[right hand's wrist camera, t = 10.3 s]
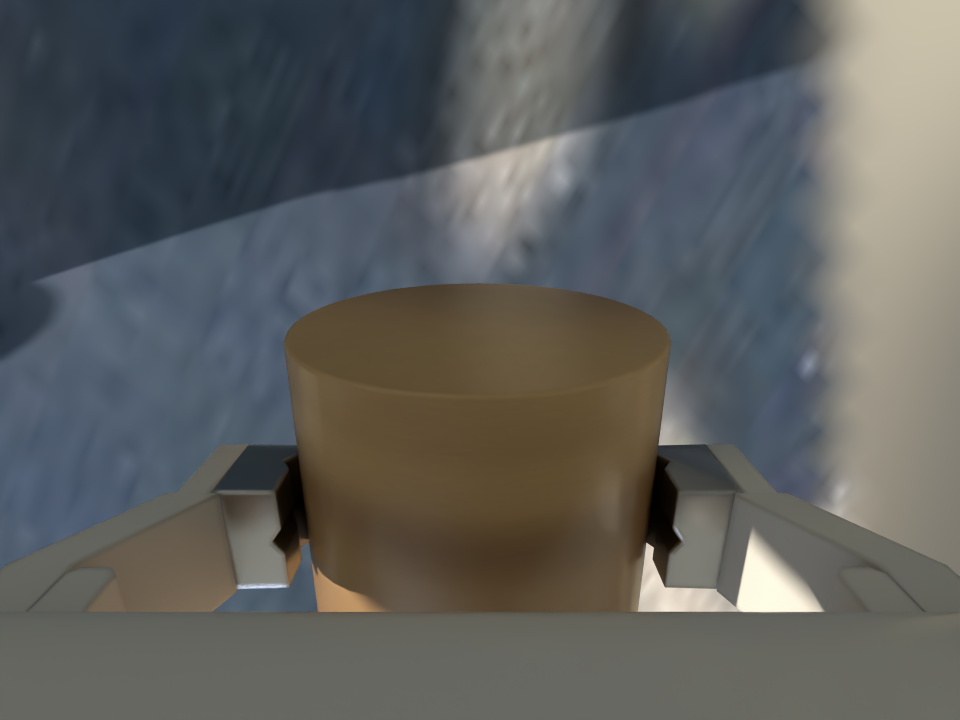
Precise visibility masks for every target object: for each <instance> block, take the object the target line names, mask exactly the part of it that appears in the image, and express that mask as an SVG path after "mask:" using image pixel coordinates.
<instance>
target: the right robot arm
mask: <svg viewBox="0 0 960 720" xmlns="http://www.w3.org/2000/svg"><path fill="white" fill-rule="evenodd" d="M308 542H309V536H308V529H307V521H306V513H305V505H304V497H303V490H302V482H301V474H300V466H299V459H298V451H297V445H251V444H229V445H220V446H219V447H218V448H217V449H216V450H215V451H214V452H213V453H212V454H211V456H210V457H209V458H208V459H207V460H206V461H205V462H204V463H203V464H202V465H201V467H200V468H199V469H198V470H197V471H196V472H195V473H194V474H193V475H192V476H191V478H190V479H189V480H188V481H187V482H186V483H185V484H184V485H183V486H182V487H181V489H180V490H179V491H178V492H177V493H166V494H164V495H162V496H159V497H157V498H155V499H153V500H150V501H148V502H146V503H144V504H142V505H139V506H137V507H135V508H133V509H130V510H128V511H126V512H124V513H121V514H119V515H117V516H115V517H112V518H110V519H108V520H106V521H103V522H101V523H99V524H97V525H94V526H92V527H90V528H88V529H85V530H83V531H81V532H79V533H76V534H74V535H72V536H70V537H67V538H65V539H63V540H61V541H58V542H56V543H54V544H52V545H49V546H47V547H45V548H43V549H40V550H38V551H36V552H34V553H31V554H29V555H27V556H25V557H22V558H20V559H18V560H16V561H14V562H11V563H9V564H7V565H5V566H4V567H3V568H2V569H1V570H0V720H960V576H958V575H957V574H956V573H955V572H954V571H953V570H952V569H950V568H949V567H948V566H947V565H945V564H943V563H940V562H938V561H936V560H934V559H931V558H929V557H927V556H925V555H923V554H920V553H918V552H916V551H914V550H912V549H909V548H907V547H905V546H903V545H900V544H898V543H896V542H894V541H892V540H889V539H887V538H885V537H883V536H880V535H878V534H876V533H874V532H872V531H869V530H867V529H865V528H863V527H861V526H858V525H856V524H854V523H852V522H849V521H847V520H845V519H843V518H841V517H838V516H836V515H834V514H832V513H830V512H827V511H825V510H823V509H821V508H818V507H816V506H814V505H812V504H810V503H807V502H805V501H803V500H801V499H798V498H796V497H794V496H792V495H790V494H787V493H777V492H776V491H775V490H774V489H773V488H772V487H771V486H770V484H769V483H768V482H767V481H766V480H765V479H764V478H763V476H762V475H761V474H760V473H759V472H758V471H757V470H756V469H755V467H754V466H753V465H752V464H751V463H750V462H749V461H748V460H747V458H746V457H745V456H744V455H743V454H742V453H741V452H740V451H739V449H738V448H737V447H736V446H734V445H731V444H714V445H705V444H703V445H662V446H658V452H657V460H656V468H655V476H654V484H653V492H652V500H651V508H650V516H649V524H648V532H647V541H646V542H647V543H648V544H650V545H651V546H652V547H654V552H653V561H654V563H655V566H656V568H657V570H658V573H659V575H660V577H661V579H662V582H663V584H664V586H665V587H672V588H709V589H717V592H719V593H720V594H721V595H722V596H723V597H725V598H726V599H727V600H728V601H729V602H731V603H732V604H733V605H734V606H735V607H737V608H738V609H739V610H740V611H741V612H213V611H214V610H215V609H216V608H217V607H219V606H220V605H221V604H222V603H224V602H225V601H226V600H227V599H228V598H230V597H231V596H232V595H233V594H234V593H236V592H237V589H245V588H280V587H290V584H291V582H292V580H293V578H294V575H295V573H296V571H297V569H298V567H299V564H300V562H301V560H302V556H301V549H300V548H301V547H302V546H304V545H305V544H307V543H308Z"/></svg>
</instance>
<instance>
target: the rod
mask: <svg viewBox="0 0 960 720" xmlns="http://www.w3.org/2000/svg"><path fill="white" fill-rule="evenodd" d="M670 345H671V340H670V337H669V334H668V332H667V330H666V328H665V327H664V326H663V325H662V324H661V323H660V322H659V321H657V320H656V319H655V318H653V317H652V316H650V315H649V314H647V313H645V312H643V311H641V310H639V309H636V308H634V307H632V306H629V305H627V304H624V303H621V302H618V301H615V300H611V299H608V298H604V297H600V296H596V295H591V294H587V293H582V292H576V291H570V290H564V289H557V288H549V287H539V286H528V285H514V284H443V285H429V286H418V287H408V288H400V289H393V290H386V291H381V292H375V293H370V294H365V295H361V296H356V297H353V298H349V299H345V300H342V301H339V302H336V303H333V304H330V305H327V306H325V307H322V308H320V309H317V310H315V311H313V312H311V313H309V314H307V315H305V316H304V317H302V318H301V319H299V320H298V321H297V322H295V323H294V324H293V325H292V327H291V328H290V329H289V330H288V332H287V335H286V337H285V340H284V350H285V358H286V366H287V373H288V381H289V389H290V397H291V404H292V412H293V420H294V428H295V435H296V443H297V451H298V459H299V466H300V474H301V482H302V490H303V497H304V505H305V513H306V521H307V529H308V536H309V544H310V552H311V560H312V567H313V575H314V583H315V591H316V598H317V606H318V612H638V605H639V597H640V589H641V581H642V573H643V565H644V557H645V549H646V541H647V532H648V524H649V516H650V508H651V500H652V492H653V484H654V476H655V468H656V460H657V452H658V444H659V436H660V428H661V420H662V412H663V404H664V396H665V388H666V380H667V372H668V363H669V355H670Z"/></svg>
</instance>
